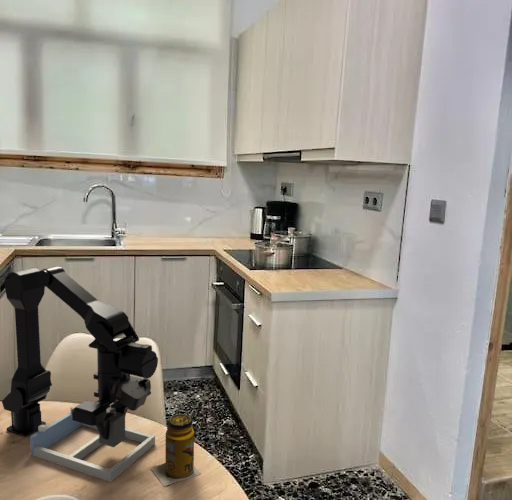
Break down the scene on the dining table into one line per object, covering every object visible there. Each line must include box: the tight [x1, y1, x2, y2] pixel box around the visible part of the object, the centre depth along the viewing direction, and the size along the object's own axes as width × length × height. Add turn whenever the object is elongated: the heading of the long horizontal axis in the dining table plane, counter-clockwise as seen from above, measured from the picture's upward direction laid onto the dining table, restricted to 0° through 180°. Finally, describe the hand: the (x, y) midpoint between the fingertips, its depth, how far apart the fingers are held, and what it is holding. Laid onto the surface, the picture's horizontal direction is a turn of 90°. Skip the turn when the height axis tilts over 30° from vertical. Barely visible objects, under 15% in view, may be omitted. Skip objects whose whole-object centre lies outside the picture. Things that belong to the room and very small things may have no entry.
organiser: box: [29, 405, 156, 483], centre depth 115 cm, size 22×16×6 cm
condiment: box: [150, 413, 201, 487], centre depth 108 cm, size 7×8×12 cm
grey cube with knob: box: [98, 407, 126, 448], centre depth 113 cm, size 4×4×8 cm
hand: (112, 434), depth 113 cm, fingers closed on grey cube with knob, 4 cm apart
